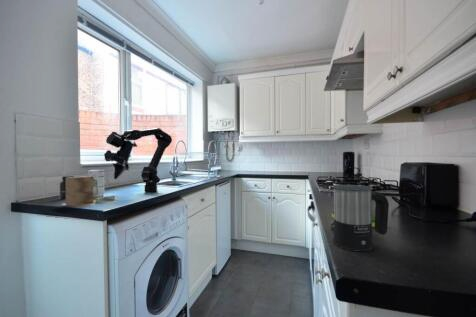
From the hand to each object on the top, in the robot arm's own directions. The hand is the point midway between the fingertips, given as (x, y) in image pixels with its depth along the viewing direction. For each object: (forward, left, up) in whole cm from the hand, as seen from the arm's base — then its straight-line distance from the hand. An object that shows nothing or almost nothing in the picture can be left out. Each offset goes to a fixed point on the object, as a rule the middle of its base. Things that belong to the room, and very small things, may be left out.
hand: (115, 178), depth 115 cm
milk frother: (-83, +71, -11) cm, 109 cm away
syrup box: (+15, -14, -11) cm, 23 cm away
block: (+9, +15, -10) cm, 20 cm away
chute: (+6, +11, -11) cm, 16 cm away
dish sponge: (-96, +56, -11) cm, 112 cm away
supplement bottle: (+24, -3, -11) cm, 26 cm away
